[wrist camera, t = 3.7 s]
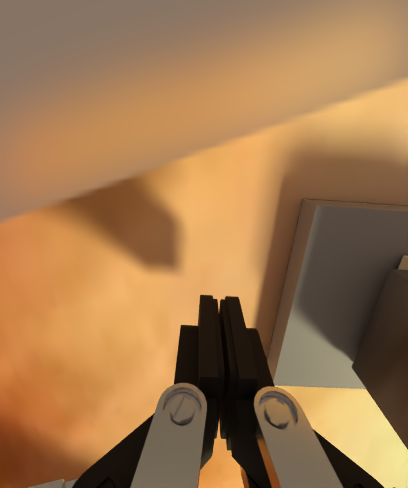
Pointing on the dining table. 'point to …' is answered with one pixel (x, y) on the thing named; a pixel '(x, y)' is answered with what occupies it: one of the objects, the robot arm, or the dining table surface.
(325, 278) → the base
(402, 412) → the block
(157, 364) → the dining table surface
